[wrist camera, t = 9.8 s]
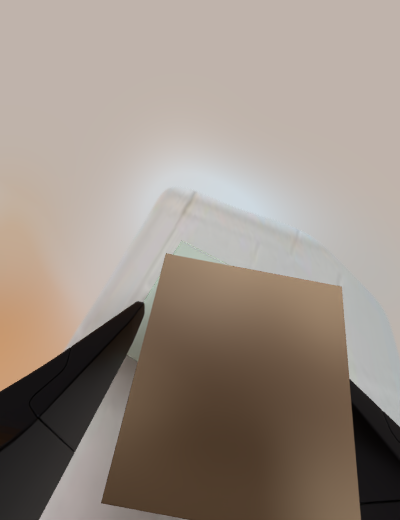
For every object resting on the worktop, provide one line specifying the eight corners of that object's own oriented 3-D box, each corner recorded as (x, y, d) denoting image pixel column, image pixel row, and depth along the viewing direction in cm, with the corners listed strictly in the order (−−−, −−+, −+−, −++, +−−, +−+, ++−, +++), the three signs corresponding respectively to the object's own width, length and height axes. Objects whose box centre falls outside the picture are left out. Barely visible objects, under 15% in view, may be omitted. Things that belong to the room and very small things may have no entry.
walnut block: (227, 353, 16) (363, 552, 3) (173, 343, 16) (101, 502, 3) (234, 296, 17) (341, 286, 5) (184, 287, 17) (165, 253, 5)
